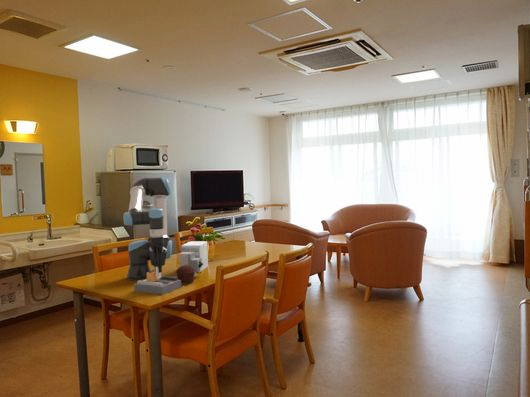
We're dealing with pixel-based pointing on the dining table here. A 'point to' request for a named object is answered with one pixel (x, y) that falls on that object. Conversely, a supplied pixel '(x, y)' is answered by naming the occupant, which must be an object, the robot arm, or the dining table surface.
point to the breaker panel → (159, 289)
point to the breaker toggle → (151, 276)
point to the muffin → (185, 274)
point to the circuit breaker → (190, 260)
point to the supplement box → (197, 251)
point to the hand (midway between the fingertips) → (158, 278)
